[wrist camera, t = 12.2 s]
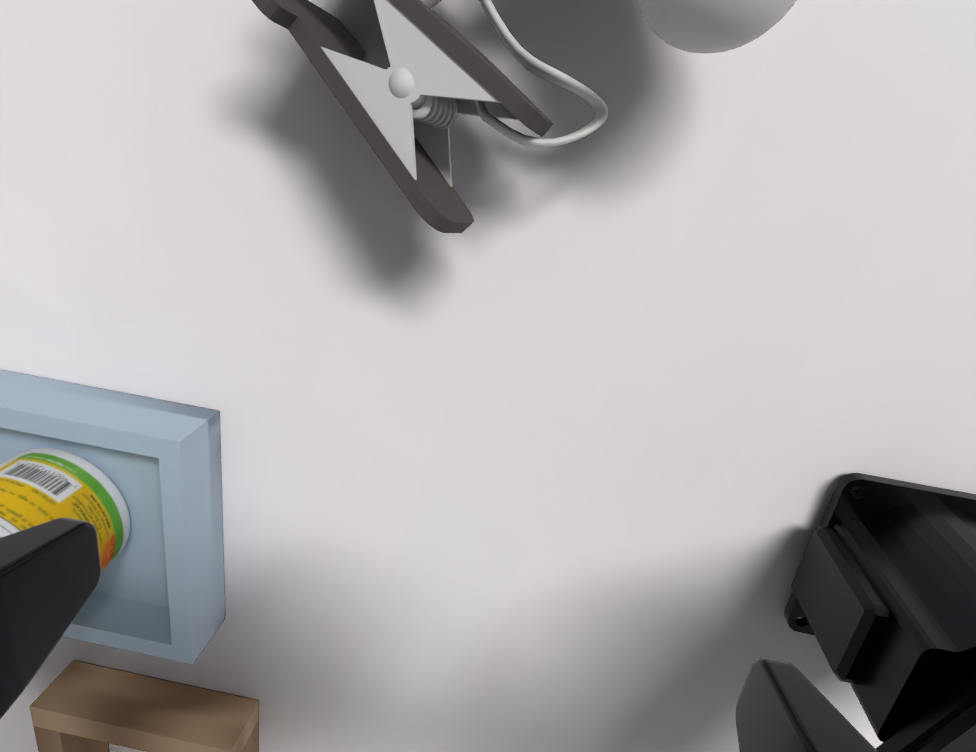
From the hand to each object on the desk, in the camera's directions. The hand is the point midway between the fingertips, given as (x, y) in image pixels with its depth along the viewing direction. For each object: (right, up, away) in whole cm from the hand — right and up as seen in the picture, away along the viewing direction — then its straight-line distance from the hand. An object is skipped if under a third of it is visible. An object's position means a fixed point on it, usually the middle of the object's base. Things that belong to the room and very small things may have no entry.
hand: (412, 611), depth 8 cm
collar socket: (-15, -15, +22) cm, 30 cm away
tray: (-15, -2, +17) cm, 23 cm away
